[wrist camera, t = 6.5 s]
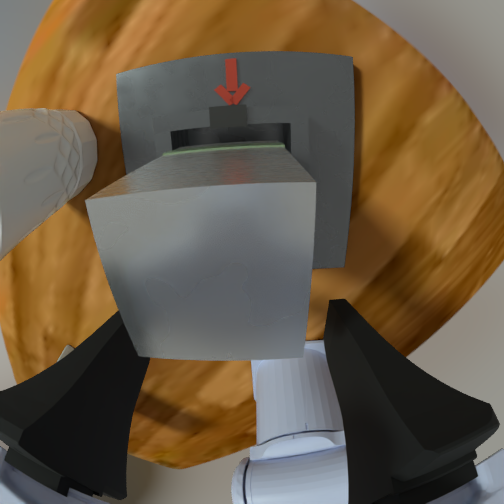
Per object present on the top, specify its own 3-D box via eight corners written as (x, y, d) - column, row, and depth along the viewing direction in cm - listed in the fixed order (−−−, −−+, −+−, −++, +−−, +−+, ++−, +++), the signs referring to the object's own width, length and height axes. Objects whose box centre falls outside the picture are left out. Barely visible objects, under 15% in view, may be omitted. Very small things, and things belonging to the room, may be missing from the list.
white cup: (46, 90, 13) (-59, 105, 4) (122, 120, 15) (10, 144, 6) (22, 181, 16) (-63, 232, 7) (88, 219, 18) (5, 298, 9)
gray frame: (340, 260, 20) (360, 300, 15) (151, 267, 20) (129, 306, 16) (347, 59, 13) (379, 44, 9) (123, 75, 13) (83, 68, 9)
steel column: (280, 231, 12) (305, 358, 6) (190, 235, 12) (137, 357, 6) (278, 139, 10) (319, 179, 4) (178, 146, 11) (82, 198, 4)
